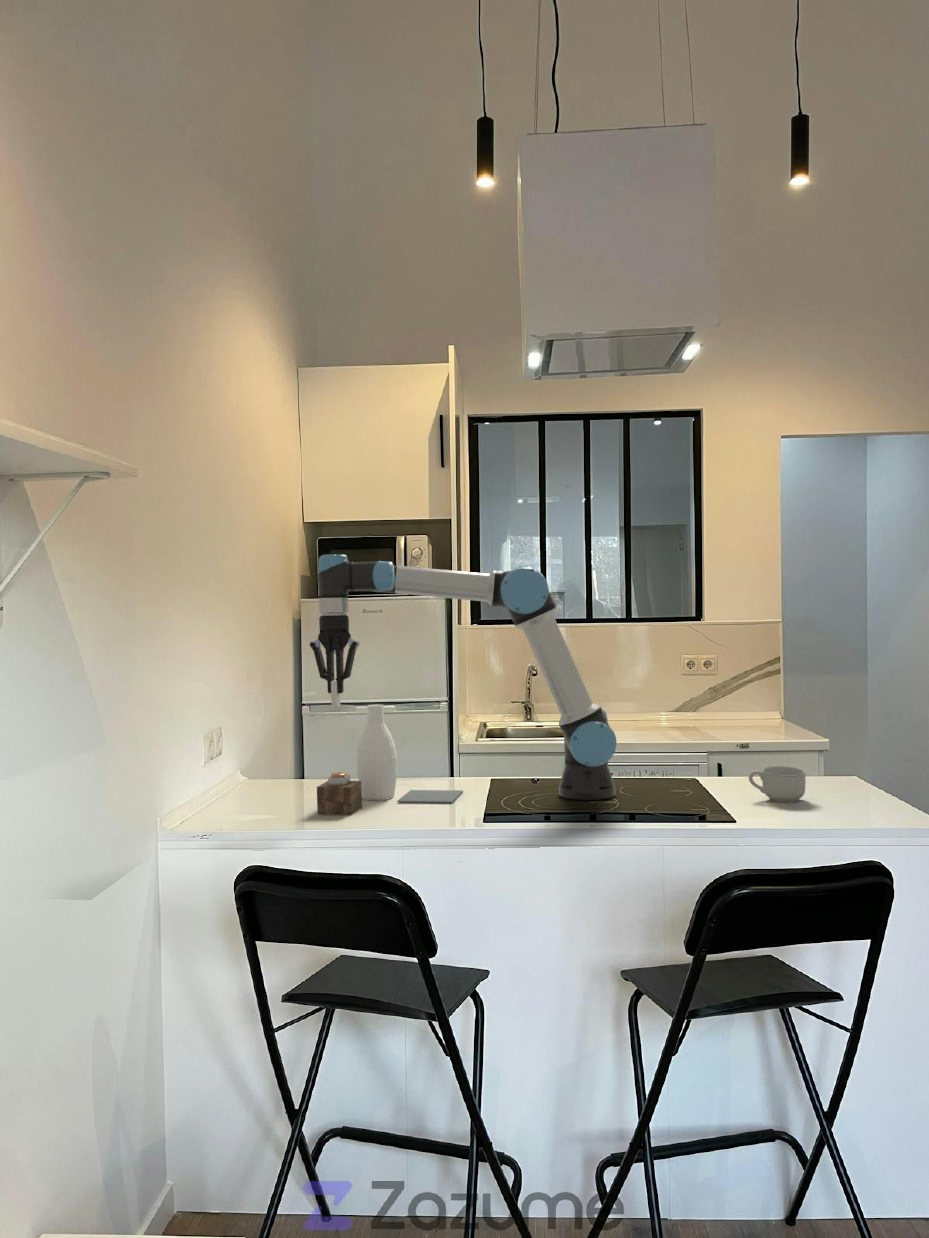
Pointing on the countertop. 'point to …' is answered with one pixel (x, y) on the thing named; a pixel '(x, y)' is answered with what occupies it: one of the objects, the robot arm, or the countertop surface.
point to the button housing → (339, 799)
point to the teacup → (781, 783)
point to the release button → (338, 779)
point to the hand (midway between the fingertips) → (335, 706)
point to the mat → (431, 796)
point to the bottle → (376, 757)
